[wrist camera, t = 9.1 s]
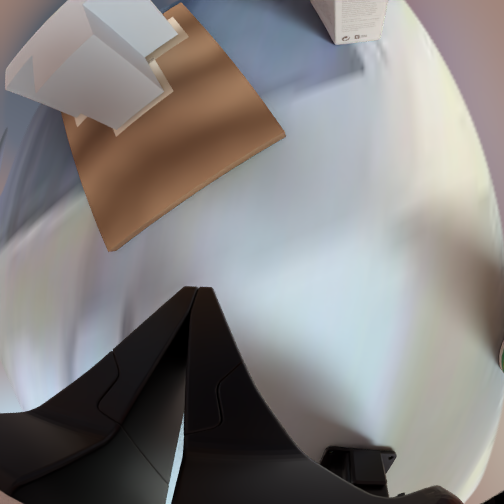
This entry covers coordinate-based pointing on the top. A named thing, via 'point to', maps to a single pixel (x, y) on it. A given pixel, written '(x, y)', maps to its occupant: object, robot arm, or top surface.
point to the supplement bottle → (501, 357)
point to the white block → (93, 59)
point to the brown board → (170, 135)
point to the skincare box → (352, 19)
